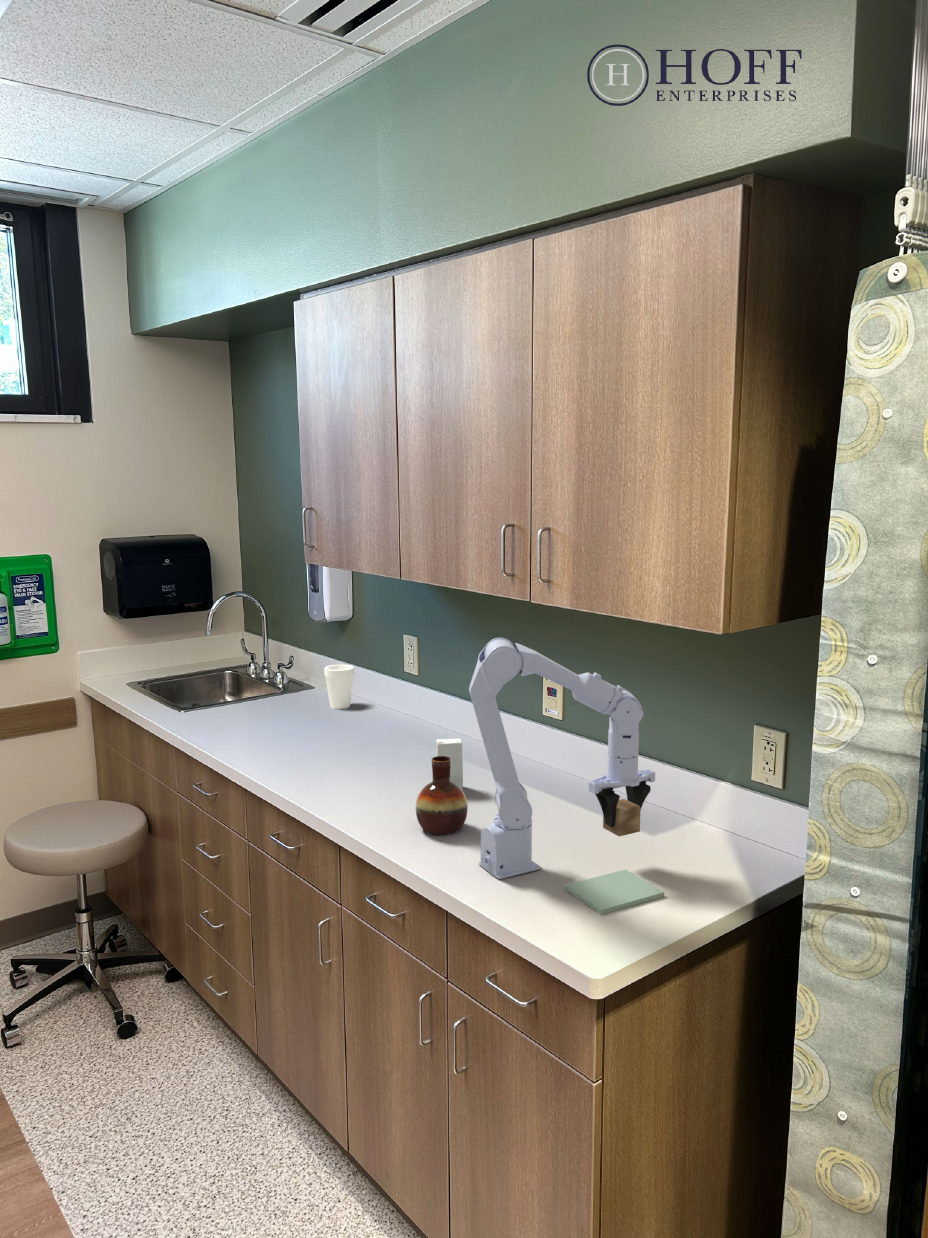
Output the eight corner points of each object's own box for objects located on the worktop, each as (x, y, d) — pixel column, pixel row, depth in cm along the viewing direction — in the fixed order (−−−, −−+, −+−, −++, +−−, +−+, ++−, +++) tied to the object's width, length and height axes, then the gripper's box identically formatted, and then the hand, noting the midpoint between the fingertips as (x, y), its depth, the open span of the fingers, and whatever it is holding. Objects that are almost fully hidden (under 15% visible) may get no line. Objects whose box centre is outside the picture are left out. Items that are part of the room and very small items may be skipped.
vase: (406, 833, 194) (405, 763, 192) (430, 816, 204) (429, 748, 202) (454, 841, 190) (454, 769, 187) (475, 823, 200) (475, 754, 197)
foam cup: (323, 704, 304) (322, 665, 302) (351, 702, 306) (350, 663, 304) (328, 711, 295) (327, 671, 293) (356, 709, 297) (355, 669, 295)
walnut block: (619, 836, 174) (619, 811, 173) (602, 827, 179) (603, 803, 178) (639, 831, 177) (640, 806, 176) (623, 823, 181) (623, 798, 180)
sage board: (601, 914, 158) (601, 910, 158) (564, 889, 168) (564, 885, 168) (664, 896, 165) (664, 892, 165) (625, 873, 174) (625, 869, 174)
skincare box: (461, 785, 224) (461, 737, 222) (463, 791, 220) (463, 742, 218) (436, 786, 223) (435, 738, 222) (437, 792, 219) (437, 743, 217)
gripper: (605, 766, 168) (603, 836, 170) (666, 754, 175) (664, 822, 177) (582, 755, 174) (581, 824, 177) (642, 744, 181) (640, 810, 183)
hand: (621, 822), depth 177 cm, fingers closed on walnut block, 5 cm apart
